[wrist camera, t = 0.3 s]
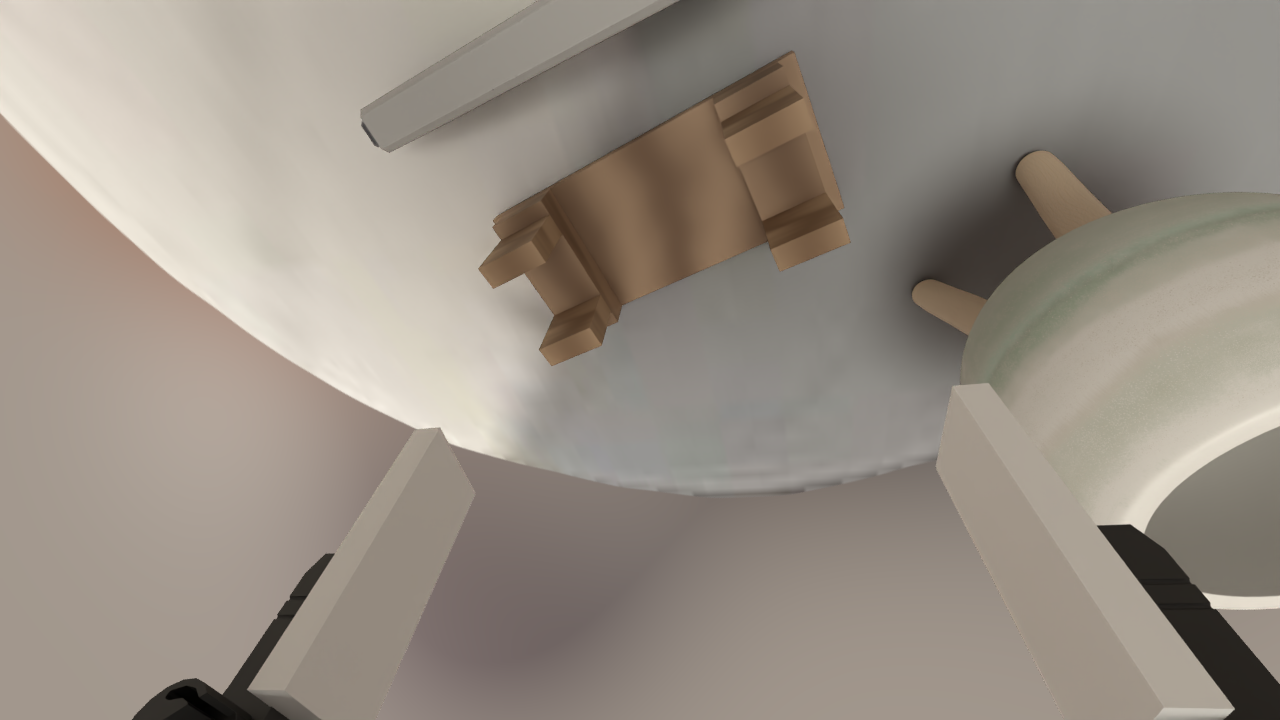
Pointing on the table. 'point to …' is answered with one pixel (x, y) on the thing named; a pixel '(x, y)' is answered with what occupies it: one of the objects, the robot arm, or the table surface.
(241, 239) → the table surface
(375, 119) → the gun
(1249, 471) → the planter
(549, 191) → the display stand
